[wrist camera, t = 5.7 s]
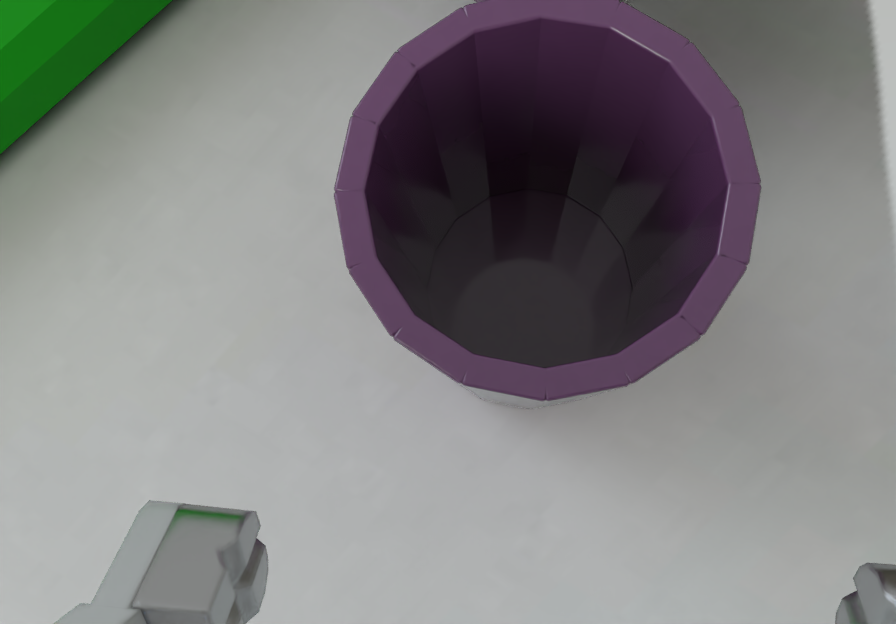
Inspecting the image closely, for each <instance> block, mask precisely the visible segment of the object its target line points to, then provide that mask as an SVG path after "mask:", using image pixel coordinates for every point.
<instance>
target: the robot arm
mask: <svg viewBox="0 0 896 624" xmlns="http://www.w3.org/2000/svg"><path fill="white" fill-rule="evenodd" d="M259 529H260V522H259V519H258V516H257V512H256V511H248V510H239V509H229V508H220V507H210V506H200V505H191V504H184V503H172V502H161V501H150V500H149V501H148V502H147V503H146V505H145V506H144V507H143V508H142V509H141V510H140V511H139V512H138V514H137V516H136V518H135V520H134V522H133V524H132V526H131V528H130V529H129V531H128V533H127V535H126V537H125V539H124V541H123V543H122V545H121V547H120V549H119V551H118V552H117V554H116V556H115V558H114V560H113V562H112V564H111V566H110V568H109V570H108V572H107V574H106V575H105V577H104V579H103V581H102V583H101V585H100V587H99V589H98V591H97V593H96V595H95V597H94V598H93V600H92V602H91V604H84V603H80V604H79V605H77V606H76V607H75V608H73V609H72V610H71V611H69V612H68V613H67V614H65V615H64V616H63V617H62V618H60V619H59V620H58V621H56V622H55V623H54V624H246V623H247V622H248V621H249V620H250V619H251V618H252V617H254V616H255V615H256V614H257V613H258V612H259V610H260V607H261V604H262V600H263V597H264V594H265V589H266V583H267V576H268V555H267V550H266V546H265V545H264V544H263V543H262V542H260V541H259V540H258V539H257V535H258V532H259ZM853 579H854V582H855V585H856V589H857V591H855V592H853V593H851V594H849V595H847V596H845V597H844V598H843V599H842V601H841V603H840V605H839V607H838V610H837V612H836V620H835V624H896V565H892V564H878V563H866V564H864V565H862V566H860V567H859V568H858V570H857V572H856V574H855V576H854V577H853Z"/></svg>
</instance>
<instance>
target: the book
mask: <svg viewBox="0 0 896 624" xmlns="http://www.w3.org/2000/svg"><path fill="white" fill-rule="evenodd" d="M171 1H172V0H0V154H1V153H2V152H3V151H4V150H5V149H7V148H8V147H9V146H10V145H11V144H12V143H13V142H14V141H16V140H17V139H18V138H19V137H20V136H21V135H22V134H23V133H24V132H26V131H27V130H28V129H29V128H30V127H31V126H32V125H33V124H35V123H36V122H37V121H38V120H39V119H40V118H41V117H42V116H43V115H45V114H46V113H47V112H48V111H49V110H50V109H51V108H52V107H54V106H55V105H56V104H57V103H58V102H59V101H60V100H61V99H63V98H64V97H65V96H66V95H67V94H68V93H69V92H70V91H71V90H73V89H74V88H75V87H76V86H77V85H78V84H79V83H80V82H82V81H83V80H84V79H85V78H86V77H87V76H88V75H89V74H90V73H92V72H93V71H94V70H95V69H96V68H97V67H98V66H99V65H101V64H102V63H103V62H104V61H105V60H106V59H107V58H108V57H110V56H111V55H112V54H113V53H114V52H115V51H116V50H117V49H118V48H120V47H121V46H122V45H123V44H124V43H125V42H126V41H127V40H129V39H130V38H131V37H132V36H133V35H134V34H135V33H136V32H137V31H139V30H140V29H141V28H142V27H143V26H144V25H145V24H146V23H148V22H149V21H150V20H151V19H152V18H153V17H154V16H155V15H157V14H158V13H159V12H160V11H161V10H162V9H163V8H164V7H165V6H167V5H168V4H169V3H170V2H171Z"/></svg>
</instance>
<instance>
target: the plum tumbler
mask: <svg viewBox="0 0 896 624" xmlns="http://www.w3.org/2000/svg"><path fill="white" fill-rule="evenodd" d="M689 42H690V41H689V40H688V39H687V38H686V37H684V36H682V35H680V34H679V33H677V32H675V31H673V30H672V29H670V28H668V27H666V26H665V25H663V24H661V23H659V22H658V21H656V20H654V19H652V18H651V17H649V16H647V15H645V14H644V13H642V12H640V11H638V10H637V9H635V8H633V7H631V6H630V5H628V4H626V3H624V2H621V3H620V1H619V0H487V1H483V2H478V3H474V4H469V5H466V6H464V7H463V8H459V9H457V10H456V11H454V12H453V13H451V14H450V15H448V16H447V17H445V18H444V19H442V20H441V21H439V22H438V23H436V24H435V25H433V26H432V27H430V28H429V29H427V30H426V31H424V32H423V33H421V34H420V35H418V36H417V37H415V38H414V39H412V40H411V41H409V42H408V43H406V44H405V45H403V46H402V47H400V48H399V49H398V52H395V53H394V54H393V55H392V57H391V58H390V60H389V61H388V62H387V64H386V65H385V67H384V68H383V70H382V71H381V72H380V74H379V75H378V77H377V78H376V80H375V81H374V82H373V84H372V85H371V87H370V88H369V90H368V91H367V92H366V94H365V95H364V97H363V98H362V100H361V101H360V102H359V104H358V105H357V107H356V108H355V110H354V111H353V114H352V115H353V116H351V118H350V120H349V125H348V129H347V134H346V138H345V142H344V147H343V151H342V156H341V160H340V165H339V169H338V173H337V178H336V182H335V187H334V190H335V193H334V199H335V204H336V210H337V216H338V221H339V227H340V233H341V238H342V244H343V250H344V255H345V261H346V266H347V268H348V269H349V274H350V275H351V277H352V278H353V280H354V281H355V283H356V284H357V286H358V288H359V289H360V291H361V292H362V294H363V295H364V297H365V298H366V300H367V301H368V303H369V304H370V306H371V307H372V309H373V311H374V312H375V314H376V315H377V317H378V318H379V320H380V321H381V323H382V324H383V326H384V327H385V329H386V330H387V332H388V334H389V335H390V336H392V337H393V338H394V340H395V341H396V342H398V343H399V344H401V345H402V346H404V347H405V348H406V349H408V350H409V351H411V352H412V353H414V354H415V355H417V356H418V357H420V358H421V359H423V360H424V361H426V362H427V363H428V364H430V365H431V366H433V367H434V368H436V369H437V370H439V371H440V372H442V373H443V374H445V375H446V376H448V377H449V378H451V379H452V380H454V381H455V382H456V383H458V384H459V385H461V386H462V387H464V388H465V389H467V390H468V391H470V392H471V393H473V394H474V395H476V396H477V397H479V398H480V399H483V400H485V401H490V402H495V403H499V404H503V405H508V406H514V407H519V408H524V409H536V408H541V407H546V406H552V405H556V404H561V403H567V402H572V401H576V400H580V399H583V398H587V397H591V396H594V395H598V394H601V393H605V392H609V391H612V390H616V389H619V388H623V387H627V386H628V385H630V384H634V383H635V382H637V381H638V380H640V379H641V378H643V377H644V376H646V375H647V374H649V373H650V372H652V371H653V370H655V369H656V368H658V367H659V366H661V365H662V364H664V363H665V362H667V361H668V360H670V359H671V358H673V357H674V356H676V355H677V354H679V353H680V352H682V351H683V350H685V349H686V348H688V347H689V346H691V345H692V344H694V343H695V342H697V341H698V340H699V339H700V338H701V336H703V335H704V334H705V333H706V332H707V330H708V328H709V327H710V325H711V324H712V322H713V321H714V319H715V318H716V316H717V314H718V313H719V311H720V310H721V308H722V307H723V305H724V304H725V302H726V301H727V299H728V297H729V296H730V294H731V293H732V291H733V290H734V288H735V287H736V285H737V284H738V282H739V280H740V279H741V277H742V276H743V274H744V273H745V271H746V269H747V265H748V264H749V261H750V255H751V249H752V243H753V236H754V230H755V224H756V218H757V211H758V205H759V199H760V193H761V185H760V182H761V179H760V176H759V172H758V168H757V164H756V160H755V157H754V153H753V149H752V145H751V141H750V137H749V134H748V130H747V126H746V122H745V118H744V115H743V111H742V108H741V106H739V102H738V100H737V99H736V98H735V97H734V95H733V94H732V93H731V91H730V90H729V89H728V88H727V86H726V85H725V84H724V82H723V81H722V80H721V79H720V77H719V76H718V75H717V73H716V72H715V71H714V70H713V68H712V67H711V66H710V64H709V63H708V62H707V61H706V59H705V58H704V57H703V55H702V54H701V53H700V52H699V50H698V49H697V48H696V46H695V45H694V44H693V43H692V42H691V43H689Z"/></svg>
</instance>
